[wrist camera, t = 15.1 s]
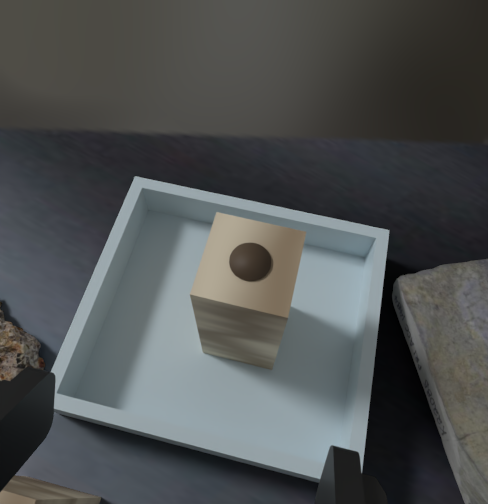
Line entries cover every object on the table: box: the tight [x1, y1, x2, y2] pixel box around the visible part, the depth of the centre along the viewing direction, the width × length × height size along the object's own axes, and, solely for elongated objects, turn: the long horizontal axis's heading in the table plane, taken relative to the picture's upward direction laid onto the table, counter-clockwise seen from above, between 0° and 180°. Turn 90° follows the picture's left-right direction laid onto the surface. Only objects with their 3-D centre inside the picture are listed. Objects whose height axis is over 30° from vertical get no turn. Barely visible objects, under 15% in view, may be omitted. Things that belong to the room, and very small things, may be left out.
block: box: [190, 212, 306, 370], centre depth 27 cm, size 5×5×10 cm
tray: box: [51, 176, 389, 483], centre depth 30 cm, size 18×16×4 cm
